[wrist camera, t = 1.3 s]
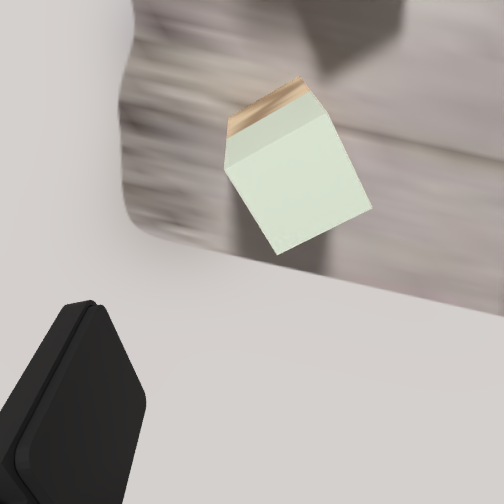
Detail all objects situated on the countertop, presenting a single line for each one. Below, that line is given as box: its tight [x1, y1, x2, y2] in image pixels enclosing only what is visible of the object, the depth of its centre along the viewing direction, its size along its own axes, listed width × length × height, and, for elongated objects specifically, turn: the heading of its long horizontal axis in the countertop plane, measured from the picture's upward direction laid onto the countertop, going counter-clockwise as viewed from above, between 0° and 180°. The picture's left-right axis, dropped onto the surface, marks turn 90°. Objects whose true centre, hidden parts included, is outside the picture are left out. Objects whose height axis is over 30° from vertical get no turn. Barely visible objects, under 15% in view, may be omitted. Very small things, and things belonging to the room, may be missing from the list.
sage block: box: [224, 91, 372, 255], centre depth 28 cm, size 6×6×6 cm
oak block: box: [227, 76, 310, 139], centre depth 33 cm, size 6×6×6 cm
